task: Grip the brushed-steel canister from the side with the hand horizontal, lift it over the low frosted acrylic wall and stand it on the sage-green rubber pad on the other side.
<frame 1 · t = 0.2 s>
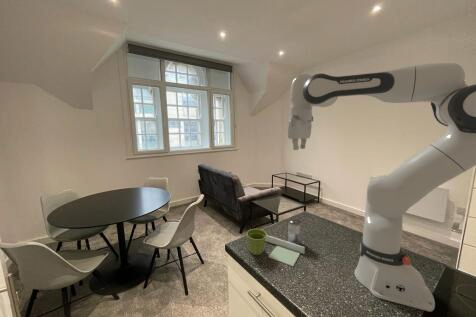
hand: (299, 149, 84), 48 cm above the worktop, tool pointing down, fingers open, 8 cm apart
plant pot: (256, 251, 91), on the worktop
canister: (293, 242, 98), on the worktop
wall: (283, 246, 94), on the worktop
pad: (284, 255, 87), on the worktop
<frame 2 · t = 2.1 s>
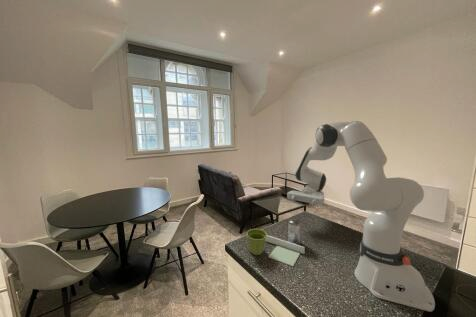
hand: (301, 201, 106), 18 cm above the worktop, tool horizontal, fingers open, 8 cm apart
nothing on the worktop moved.
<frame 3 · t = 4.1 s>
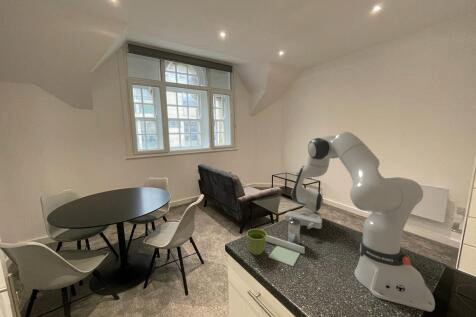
hand: (299, 224, 104), 6 cm above the worktop, tool horizontal, fingers open, 8 cm apart
nothing on the worktop moved.
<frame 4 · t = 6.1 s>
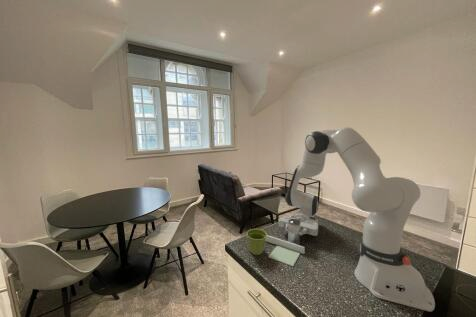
hand: (293, 231, 97), 6 cm above the worktop, tool horizontal, fingers closed on canister, 6 cm apart
canister: (293, 242, 98), on the worktop, touching gripper
everything else where it was.
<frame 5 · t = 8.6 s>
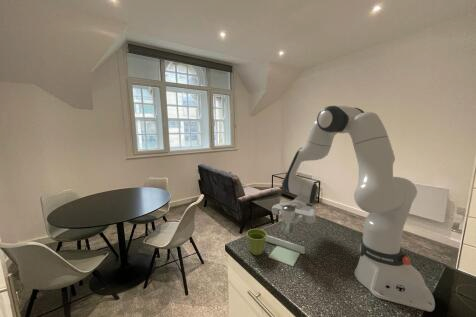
hand: (287, 218, 87), 17 cm above the worktop, tool horizontal, fingers closed on canister, 6 cm apart
canister: (287, 230, 88), point 11 cm above the worktop, touching gripper
everything else where it was.
when the fingers open (8 cm above the worktop, at t = 11.1 s): canister drops 1 cm, resting on pad.
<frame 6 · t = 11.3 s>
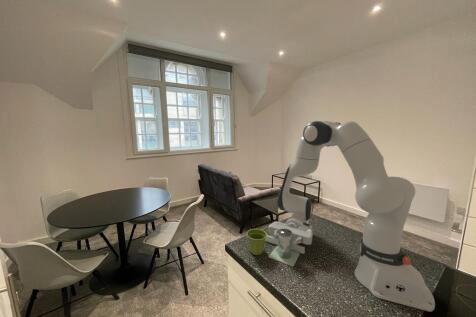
hand: (284, 240, 86), 8 cm above the worktop, tool horizontal, fingers open, 7 cm apart
canister: (284, 254, 87), resting on pad
everything else where it was.
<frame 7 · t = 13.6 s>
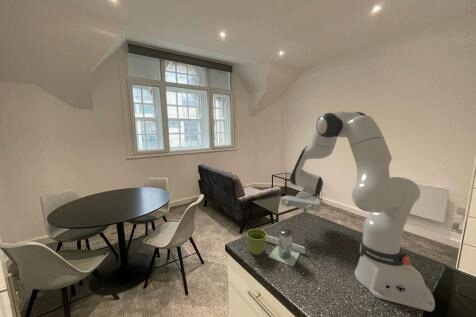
hand: (296, 207, 96), 18 cm above the worktop, tool horizontal, fingers open, 8 cm apart
nothing on the worktop moved.
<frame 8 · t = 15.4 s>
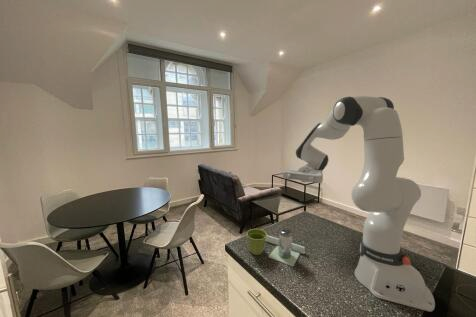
hand: (298, 179, 96), 32 cm above the worktop, tool horizontal, fingers open, 8 cm apart
nothing on the worktop moved.
at the end: canister inside the target area on the pad (0.1 cm from its centre), point 0.5 cm above the pad's base; canister tilted 1°; the gripper is holding nothing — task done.
